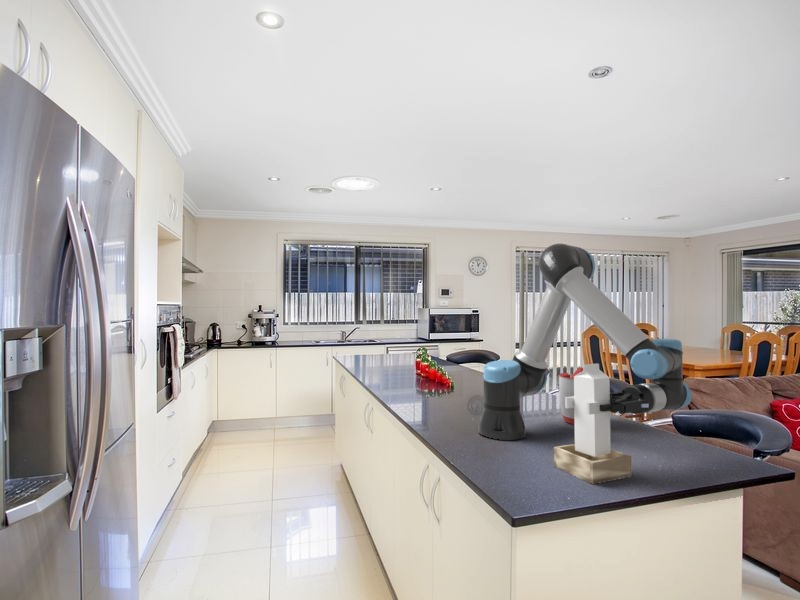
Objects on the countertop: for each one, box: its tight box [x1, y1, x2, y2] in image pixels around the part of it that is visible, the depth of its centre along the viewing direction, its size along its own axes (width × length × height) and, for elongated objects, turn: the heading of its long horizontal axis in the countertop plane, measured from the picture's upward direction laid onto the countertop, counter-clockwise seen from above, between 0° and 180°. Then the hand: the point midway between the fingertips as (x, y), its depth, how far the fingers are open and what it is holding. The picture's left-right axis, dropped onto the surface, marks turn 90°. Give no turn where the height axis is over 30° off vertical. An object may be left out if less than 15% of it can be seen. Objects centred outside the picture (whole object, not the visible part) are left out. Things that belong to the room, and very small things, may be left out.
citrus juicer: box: [558, 366, 583, 426], centre depth 158 cm, size 16×17×20 cm
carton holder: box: [553, 443, 632, 485], centre depth 109 cm, size 13×13×5 cm
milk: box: [574, 363, 612, 457], centre depth 109 cm, size 6×6×22 cm
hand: (576, 405), depth 108 cm, fingers closed on milk, 6 cm apart
